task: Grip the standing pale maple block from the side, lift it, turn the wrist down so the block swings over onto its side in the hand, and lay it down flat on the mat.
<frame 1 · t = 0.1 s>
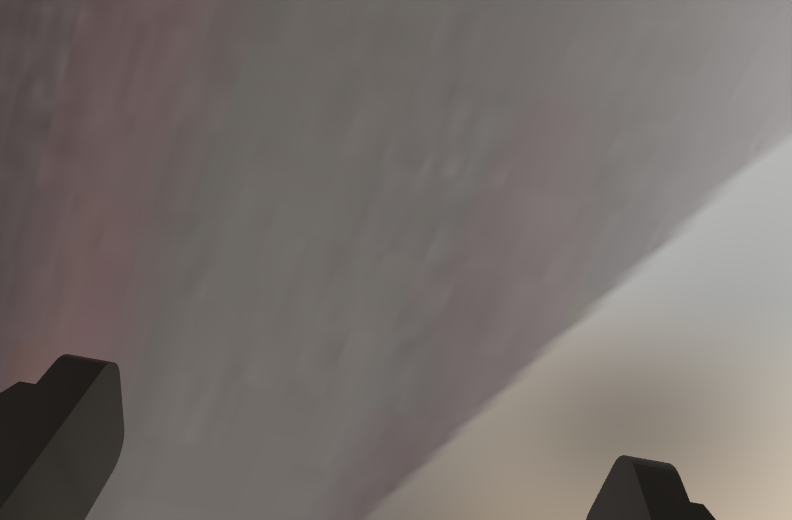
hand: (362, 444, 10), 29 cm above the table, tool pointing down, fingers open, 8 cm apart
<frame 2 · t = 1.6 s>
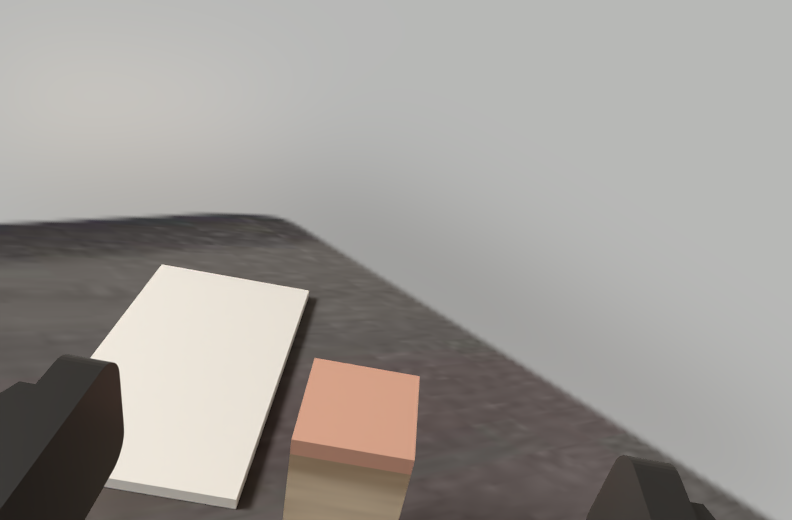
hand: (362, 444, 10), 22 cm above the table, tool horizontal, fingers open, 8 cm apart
mat: (191, 367, 42), on the table
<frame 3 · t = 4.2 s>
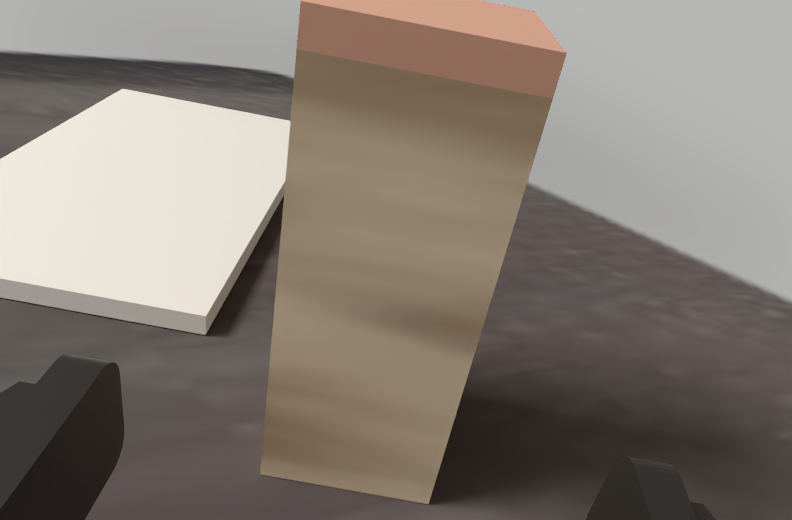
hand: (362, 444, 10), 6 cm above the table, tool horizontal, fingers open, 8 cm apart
maple block: (355, 426, 19), on the table
mat: (152, 184, 29), on the table
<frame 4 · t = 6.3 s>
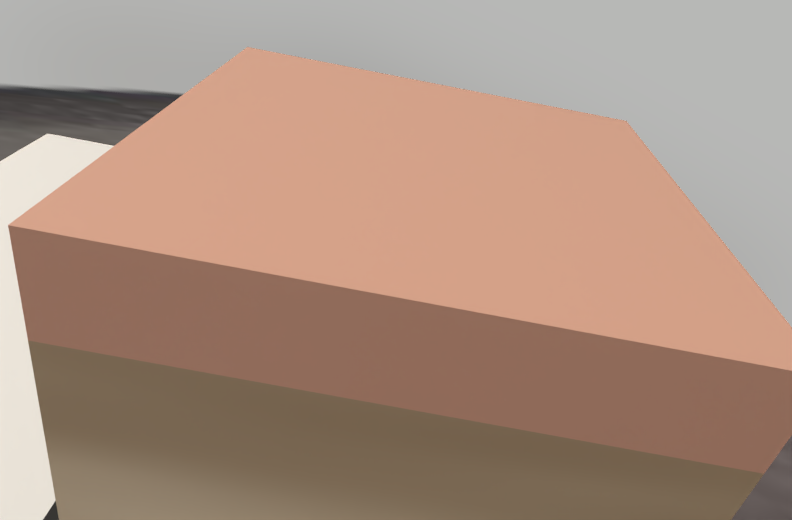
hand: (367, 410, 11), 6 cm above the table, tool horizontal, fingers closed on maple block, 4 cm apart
mat: (60, 276, 22), on the table
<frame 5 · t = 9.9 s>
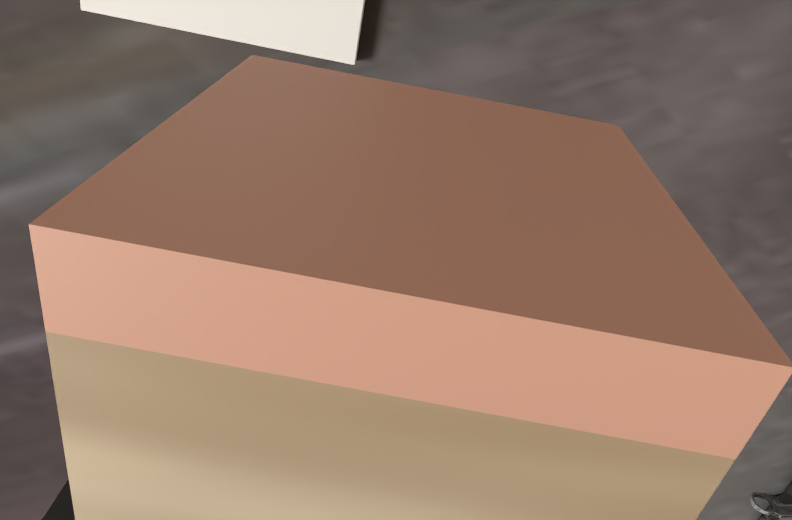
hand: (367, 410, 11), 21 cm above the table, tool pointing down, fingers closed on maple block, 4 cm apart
when the fingers open (2 cm above the table, at t = 13.9 s): maple block drops 1 cm, resting on mat.
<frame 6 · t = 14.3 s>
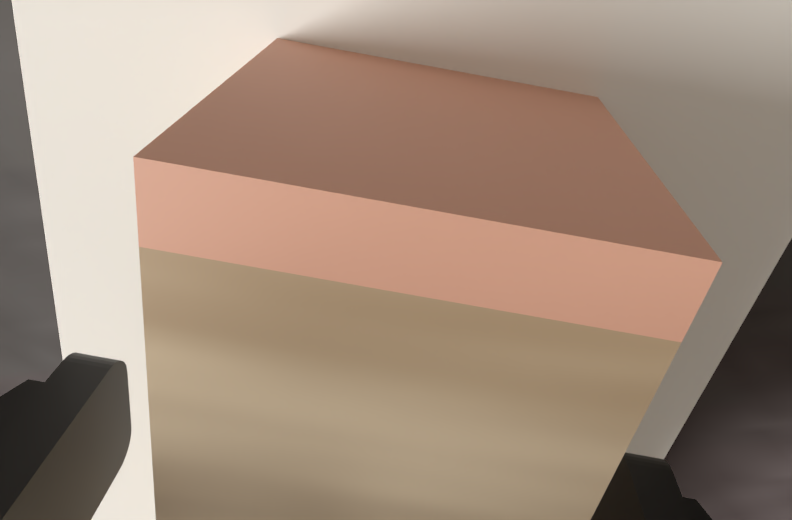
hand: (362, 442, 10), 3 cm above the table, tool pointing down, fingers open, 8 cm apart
mat: (378, 340, 12), on the table
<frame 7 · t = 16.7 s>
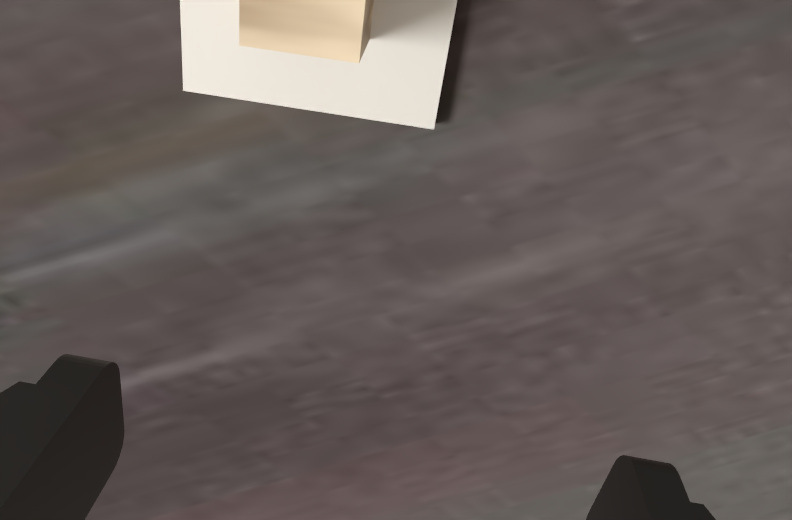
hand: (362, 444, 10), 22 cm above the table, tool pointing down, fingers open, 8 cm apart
maple block: (309, 42, 25), point 3 cm above the table, tilted 90°, touching mat
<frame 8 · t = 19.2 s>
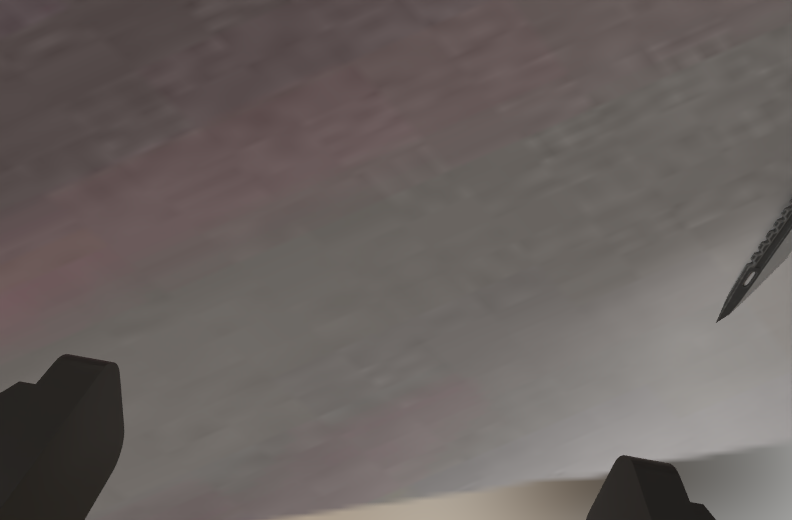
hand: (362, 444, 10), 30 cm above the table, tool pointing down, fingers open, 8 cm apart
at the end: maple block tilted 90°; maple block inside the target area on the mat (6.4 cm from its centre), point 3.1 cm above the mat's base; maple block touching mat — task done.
